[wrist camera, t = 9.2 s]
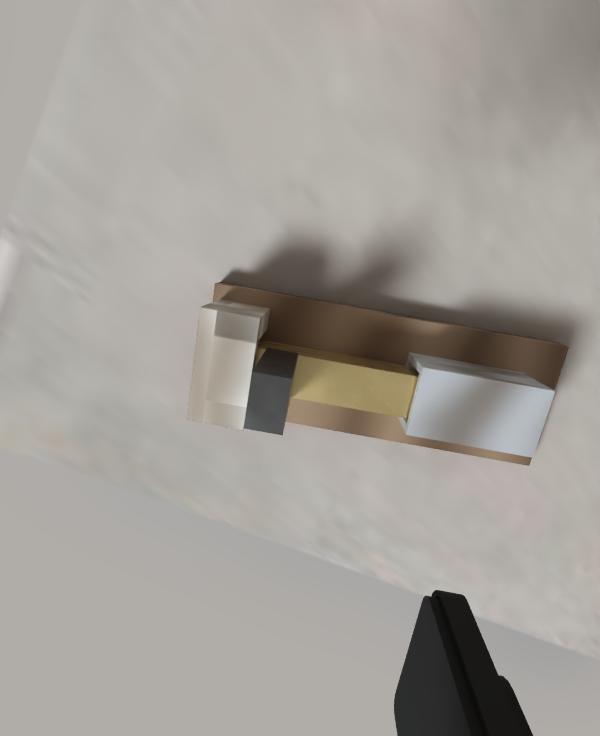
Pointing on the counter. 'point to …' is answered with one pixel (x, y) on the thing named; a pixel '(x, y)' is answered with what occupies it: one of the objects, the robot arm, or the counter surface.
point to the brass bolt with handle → (323, 384)
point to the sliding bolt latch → (389, 344)
